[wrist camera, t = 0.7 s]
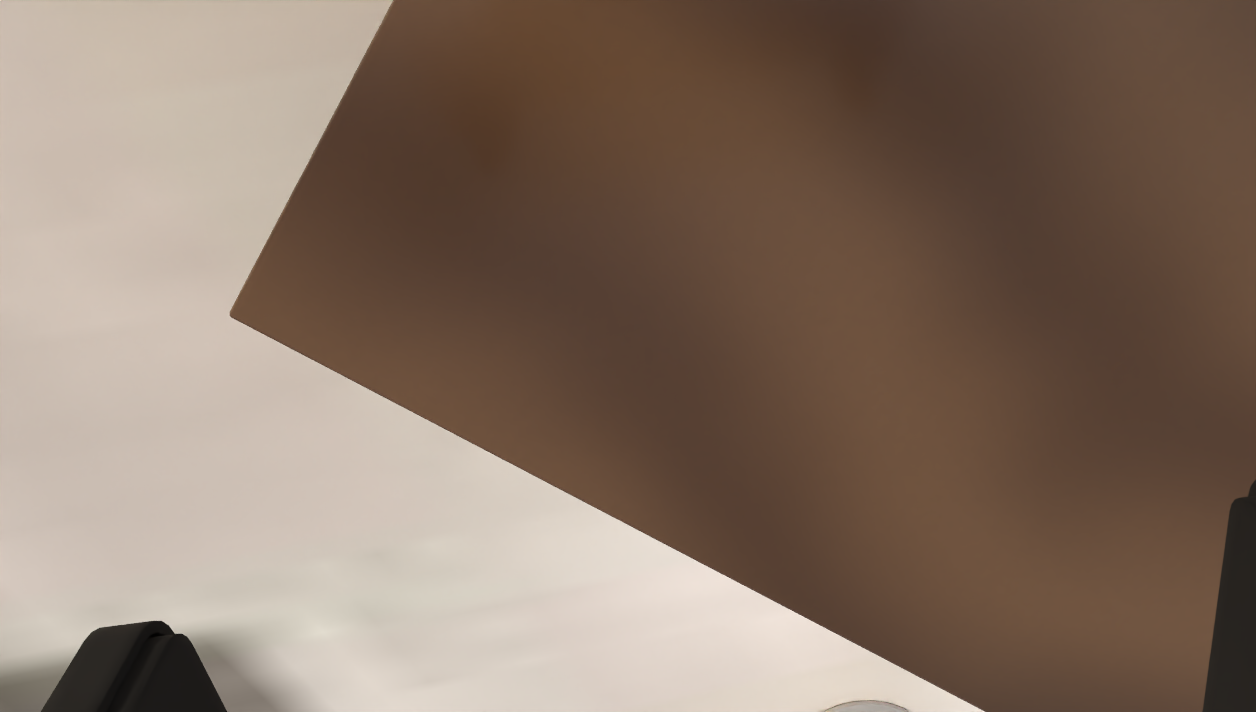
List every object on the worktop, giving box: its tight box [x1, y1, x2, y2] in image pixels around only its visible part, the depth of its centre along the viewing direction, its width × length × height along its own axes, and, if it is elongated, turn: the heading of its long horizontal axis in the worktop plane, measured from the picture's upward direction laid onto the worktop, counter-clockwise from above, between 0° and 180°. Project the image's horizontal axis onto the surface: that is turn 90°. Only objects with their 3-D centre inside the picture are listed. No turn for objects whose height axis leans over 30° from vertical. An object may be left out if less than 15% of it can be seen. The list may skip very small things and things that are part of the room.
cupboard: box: [230, 0, 1256, 712], centre depth 29 cm, size 18×26×24 cm
